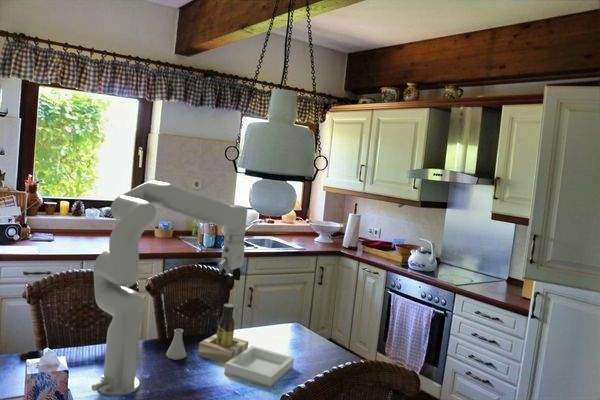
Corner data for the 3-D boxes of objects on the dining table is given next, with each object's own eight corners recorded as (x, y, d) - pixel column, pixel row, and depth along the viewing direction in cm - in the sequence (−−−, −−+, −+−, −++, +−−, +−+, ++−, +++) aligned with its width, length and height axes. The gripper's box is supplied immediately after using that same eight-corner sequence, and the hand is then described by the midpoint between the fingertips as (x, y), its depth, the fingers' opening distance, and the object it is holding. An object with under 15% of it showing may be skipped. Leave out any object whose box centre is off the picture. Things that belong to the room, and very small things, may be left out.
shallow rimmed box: (230, 365, 183) (231, 352, 183) (198, 355, 188) (199, 342, 188) (247, 353, 195) (248, 341, 195) (216, 344, 200) (217, 332, 200)
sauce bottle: (213, 351, 194) (219, 301, 192) (229, 351, 196) (235, 302, 194) (216, 358, 188) (221, 307, 186) (232, 358, 190) (238, 307, 188)
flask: (174, 362, 181) (177, 335, 180) (162, 355, 185) (164, 329, 184) (190, 357, 186) (192, 331, 185) (177, 350, 191) (180, 325, 190)
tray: (269, 388, 169) (271, 377, 168) (224, 374, 176) (225, 363, 175) (292, 368, 187) (294, 357, 187) (250, 355, 194) (252, 345, 194)
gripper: (231, 242, 179) (226, 288, 181) (253, 237, 195) (248, 280, 197) (213, 239, 182) (208, 284, 183) (236, 234, 198) (232, 276, 199)
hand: (229, 282), depth 190 cm, fingers open, 9 cm apart
